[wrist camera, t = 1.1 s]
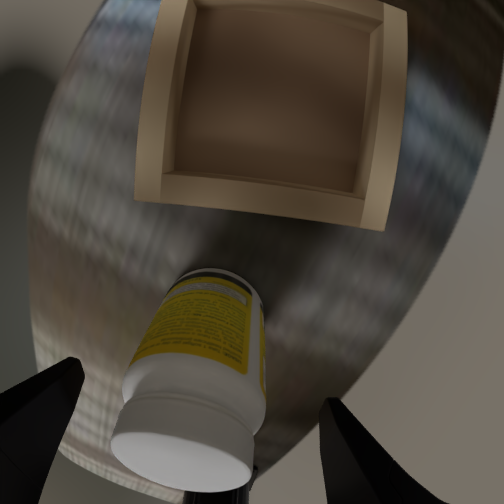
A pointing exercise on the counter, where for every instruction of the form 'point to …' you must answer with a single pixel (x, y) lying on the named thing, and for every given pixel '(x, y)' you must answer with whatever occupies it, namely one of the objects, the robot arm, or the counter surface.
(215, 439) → the supplement bottle
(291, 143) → the jig cradle
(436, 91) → the counter surface
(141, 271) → the counter surface
